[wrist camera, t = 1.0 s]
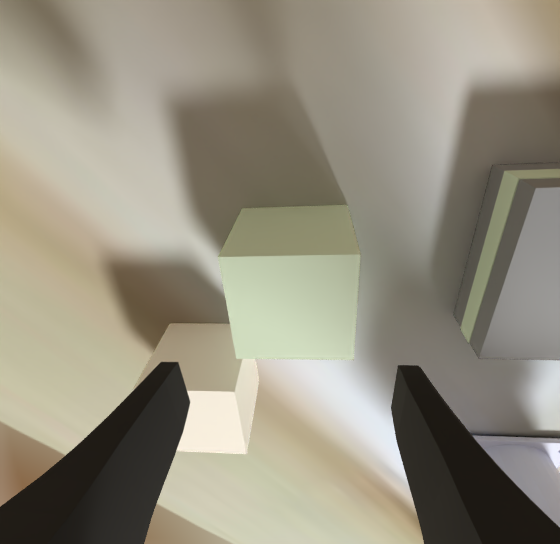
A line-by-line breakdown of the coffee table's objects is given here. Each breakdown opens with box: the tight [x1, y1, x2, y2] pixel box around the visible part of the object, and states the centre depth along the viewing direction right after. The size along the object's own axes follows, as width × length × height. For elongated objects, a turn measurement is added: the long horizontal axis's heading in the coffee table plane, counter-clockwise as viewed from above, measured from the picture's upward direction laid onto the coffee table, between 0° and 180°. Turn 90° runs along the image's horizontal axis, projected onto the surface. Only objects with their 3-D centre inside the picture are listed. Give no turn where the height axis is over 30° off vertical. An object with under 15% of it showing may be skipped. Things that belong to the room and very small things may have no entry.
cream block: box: [133, 323, 259, 454], centre depth 22 cm, size 6×6×6 cm
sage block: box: [218, 205, 361, 360], centre depth 17 cm, size 6×6×6 cm
